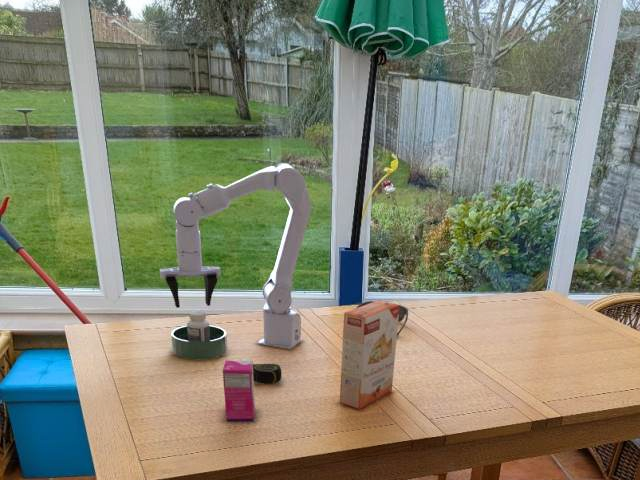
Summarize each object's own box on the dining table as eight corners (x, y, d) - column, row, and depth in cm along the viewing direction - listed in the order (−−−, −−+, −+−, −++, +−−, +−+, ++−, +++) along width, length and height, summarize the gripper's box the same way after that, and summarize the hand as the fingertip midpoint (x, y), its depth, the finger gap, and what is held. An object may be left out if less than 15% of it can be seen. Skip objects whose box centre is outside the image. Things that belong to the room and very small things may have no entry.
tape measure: (280, 376, 174) (280, 361, 172) (282, 387, 168) (282, 372, 166) (251, 376, 172) (251, 361, 171) (252, 387, 167) (251, 372, 165)
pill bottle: (204, 345, 188) (202, 308, 183) (214, 351, 184) (212, 313, 179) (185, 348, 184) (182, 311, 180) (194, 355, 181) (192, 316, 176)
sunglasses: (411, 321, 218) (412, 305, 215) (399, 344, 204) (400, 328, 201) (358, 314, 220) (358, 299, 218) (343, 337, 207) (343, 320, 204)
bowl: (236, 348, 189) (235, 329, 186) (210, 364, 177) (209, 345, 175) (190, 340, 192) (189, 321, 189) (162, 356, 180) (160, 336, 178)
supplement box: (227, 410, 155) (225, 359, 150) (255, 410, 156) (254, 359, 150) (224, 421, 150) (222, 369, 145) (253, 422, 151) (252, 370, 145)
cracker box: (361, 411, 159) (366, 317, 149) (338, 403, 162) (341, 311, 151) (394, 392, 170) (400, 303, 159) (372, 385, 172) (377, 298, 162)
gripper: (215, 246, 183) (217, 299, 190) (155, 247, 177) (160, 302, 184) (221, 252, 178) (224, 307, 184) (160, 254, 172) (165, 310, 179)
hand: (192, 305), depth 184 cm, fingers open, 7 cm apart
